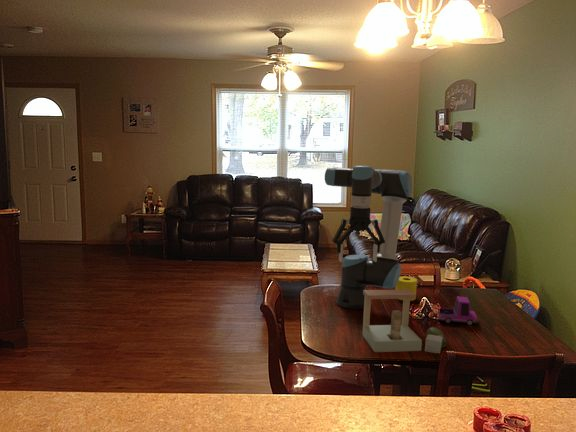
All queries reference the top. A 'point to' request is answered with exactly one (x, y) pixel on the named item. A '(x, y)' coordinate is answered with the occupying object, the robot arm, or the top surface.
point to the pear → (437, 334)
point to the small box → (433, 343)
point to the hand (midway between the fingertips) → (357, 261)
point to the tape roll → (407, 285)
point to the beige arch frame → (387, 295)
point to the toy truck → (458, 312)
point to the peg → (395, 325)
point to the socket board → (382, 343)
